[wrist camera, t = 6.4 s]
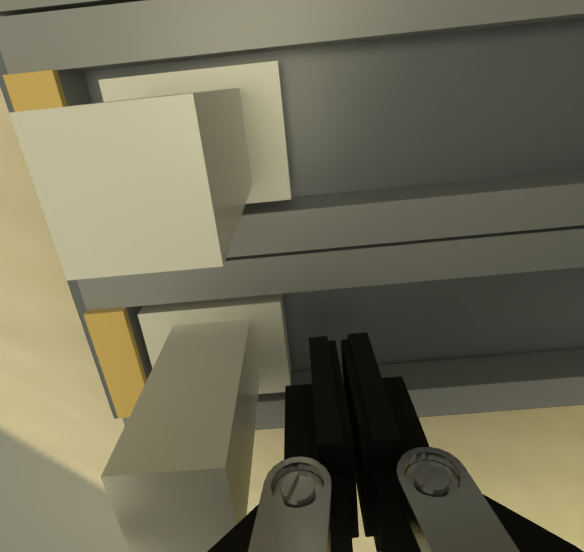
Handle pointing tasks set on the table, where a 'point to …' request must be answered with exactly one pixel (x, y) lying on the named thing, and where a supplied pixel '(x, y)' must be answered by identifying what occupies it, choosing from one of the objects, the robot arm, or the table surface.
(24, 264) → the table surface
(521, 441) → the table surface
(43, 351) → the table surface
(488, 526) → the robot arm
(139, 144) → the middle tab
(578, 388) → the switch bank
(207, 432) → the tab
